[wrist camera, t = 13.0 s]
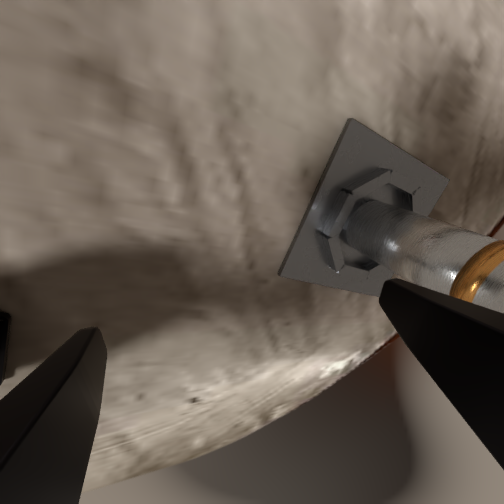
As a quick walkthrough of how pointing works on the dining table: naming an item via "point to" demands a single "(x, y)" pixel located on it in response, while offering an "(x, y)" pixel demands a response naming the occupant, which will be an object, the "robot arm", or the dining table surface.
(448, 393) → the robot arm
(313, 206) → the flange
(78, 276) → the dining table surface
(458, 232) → the grey cylindrical piece
